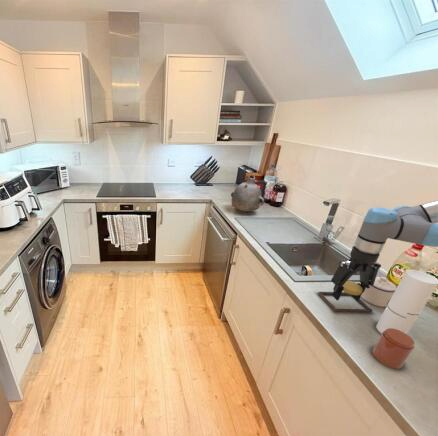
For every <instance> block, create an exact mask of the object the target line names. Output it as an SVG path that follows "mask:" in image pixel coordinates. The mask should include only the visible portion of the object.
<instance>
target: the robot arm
mask: <svg viewBox="0 0 438 436" xmlns="http://www.w3.org/2000/svg"><path fill="white" fill-rule="evenodd" d="M388 239H389V240H396V241H400V242H406V243H410V244H415V245H418V246H419V245H420V246H426V247H432V248H437V247H438V199H436V200H433V201H429V202H426V203H421V204H418V205H414V206H408V205H399V206H396V207H394V208H393V209H390V208H386V207H379V206H377V207H376V206H375V207H371V208H369V209H368V211H367V212H366V214H365V216H364V218H363V221H362V224H361V226H360V229H359V232H358V234H357V236H356V239H355V241H354V243H353V246H352V248H351V251H350V253H349V255H350V258H349V259H348V260H347V261H344V260H340V261H339V262H338V263H339V264H338V267H337V268H336V270H335V272H334V274H333V275H332V277H331V279H330V281H331V283H333V285H334V287H333V289H332V290H333V291H332V292H333V294H332V295H331V296H332V298H334V299H335V300H336V301H339V300H340V298H341V296H342V295H341V293H342V292H344V291H343V289H344V287H343V285H344V284H345V283H346V281H347V280H350V279H351V277H352V276H354V275H356V274H357V273H359V282H356V283H357V284H358V285H360V286H361V287H362V289H363V290H362V293H363V292H364V291H365V289H366V288H370V286H373V285H374V282H375V279H376V277H378V272H379V270H380V268H381V267H382V265H381V264H380V263H379V262H377V261H378V259H379V258H380V255H381V253H382V251H383V249H384V247H385V244H386V243H387V240H388ZM369 285H370V286H369ZM362 293H361V294H360V295H352V296H351V297H352V298H353V297H354V298H355V299H356V300H357V301H356V300H355V299H354V298H353V299H354V300H355V301H356V302H358V301H359V299H360V300H361V298H362V297H361V295H362Z"/></svg>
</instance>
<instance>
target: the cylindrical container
mask: <svg viewBox="0 0 438 436" xmlns="http://www.w3.org/2000/svg"><path fill="white" fill-rule="evenodd" d="M437 287H438V278H437V277H435V276H434V275H432V274H430V273H427V272H424V271H421V270H417V269H406V270H405V271H404V273H403V274H402V277H401V278H400V281H399V283H398V284H397V286H396V290H395V292H394V294H393V296H392V298H391V299H390V301H389V303H388V305H387V306H385V309H384V311H383V312H382V314H381V316H380V318H379V320H378V322H377V323H376V326H375V327H376V329H377V331H378V332H379V333H380V334H382V333H383V332H384V331H385V330H386V329H389V328H392V329H397V330H399V331H402V332H404V333H405V334H407V335H408V334H409V332H410V330H411V328H412V327H413V326H414V324H415V322H416V320H418V317H419V315H420V314H421V312H422V311H423V310H424V308H425V306H426V305H427V303H428V301H429V299H430V298H431V296H432V295H433V293H434V292H435V290H436V288H437Z"/></svg>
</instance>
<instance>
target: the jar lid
mask: <svg viewBox="0 0 438 436" xmlns="http://www.w3.org/2000/svg"><path fill="white" fill-rule="evenodd" d="M357 283H358V282H355V281H352V280H350V279H348V280H347V281H346V283H345V284H344V285H343V287H344V289H343V291H342V292H346V293H348V294H351V295H360V294H361V293H362V290H363V289H362V287H361V286H360V285H358V284H357ZM351 295H350V296H351Z"/></svg>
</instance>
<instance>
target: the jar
mask: <svg viewBox="0 0 438 436" xmlns="http://www.w3.org/2000/svg"><path fill="white" fill-rule="evenodd" d="M414 349H415V341H414V339H413V338H412V337H411V336H410V335H409V334H408V333H407V334H405V333H404V332H402V331H399V330H397V329H392V328H389V329H386V330H385V331H384V332H383V333H381V335H380V337H378V339H377V342H376V344H375V345H374V347H373V349H372V355H373V356H374V358H375V359H376V360H377V361H378V362H380V363H381V364H382V365H384V366H386V367H389V368H391V369H395V370H399V369H402V367H403V366H404V364H406V363H405V362H406V361H407V360H408V358H409V357H410V355H411V353H412V352H413V350H414Z"/></svg>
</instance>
